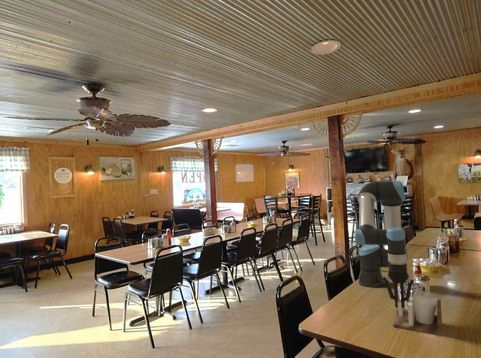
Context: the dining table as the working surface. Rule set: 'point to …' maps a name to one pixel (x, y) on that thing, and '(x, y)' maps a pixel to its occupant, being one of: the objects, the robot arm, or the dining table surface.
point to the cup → (425, 306)
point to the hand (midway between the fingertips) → (400, 315)
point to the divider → (411, 311)
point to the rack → (417, 326)
